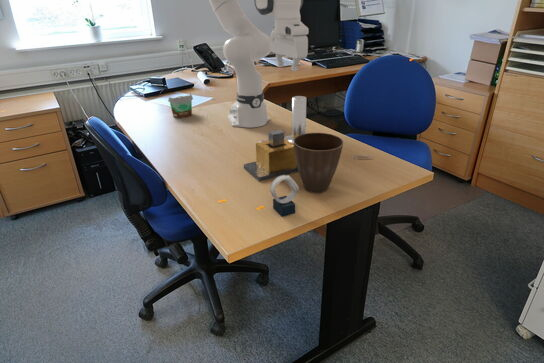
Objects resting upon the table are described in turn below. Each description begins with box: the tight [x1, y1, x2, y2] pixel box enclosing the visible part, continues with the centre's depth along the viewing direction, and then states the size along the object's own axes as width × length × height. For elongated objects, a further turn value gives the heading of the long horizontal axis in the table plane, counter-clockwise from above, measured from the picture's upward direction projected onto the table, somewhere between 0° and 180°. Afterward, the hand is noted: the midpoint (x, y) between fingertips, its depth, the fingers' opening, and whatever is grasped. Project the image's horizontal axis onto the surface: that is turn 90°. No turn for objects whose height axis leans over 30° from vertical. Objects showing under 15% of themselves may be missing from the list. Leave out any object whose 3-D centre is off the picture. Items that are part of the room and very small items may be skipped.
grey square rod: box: [267, 129, 285, 148], centre depth 135 cm, size 3×4×12 cm, turn 121°
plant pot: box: [294, 132, 344, 194], centre depth 122 cm, size 15×15×16 cm
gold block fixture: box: [243, 95, 307, 182], centre depth 136 cm, size 17×24×24 cm
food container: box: [167, 93, 194, 119], centre depth 191 cm, size 12×6×10 cm, turn 126°
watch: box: [269, 174, 300, 218], centre depth 111 cm, size 6×8×11 cm
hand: (287, 68), depth 140 cm, fingers open, 8 cm apart
